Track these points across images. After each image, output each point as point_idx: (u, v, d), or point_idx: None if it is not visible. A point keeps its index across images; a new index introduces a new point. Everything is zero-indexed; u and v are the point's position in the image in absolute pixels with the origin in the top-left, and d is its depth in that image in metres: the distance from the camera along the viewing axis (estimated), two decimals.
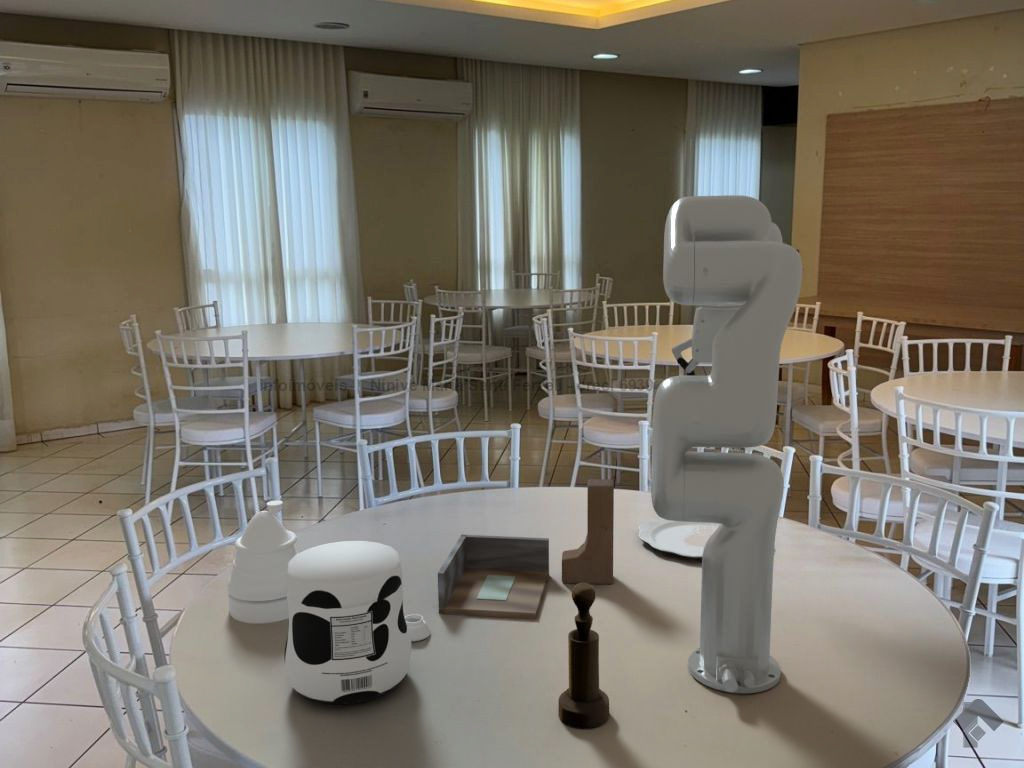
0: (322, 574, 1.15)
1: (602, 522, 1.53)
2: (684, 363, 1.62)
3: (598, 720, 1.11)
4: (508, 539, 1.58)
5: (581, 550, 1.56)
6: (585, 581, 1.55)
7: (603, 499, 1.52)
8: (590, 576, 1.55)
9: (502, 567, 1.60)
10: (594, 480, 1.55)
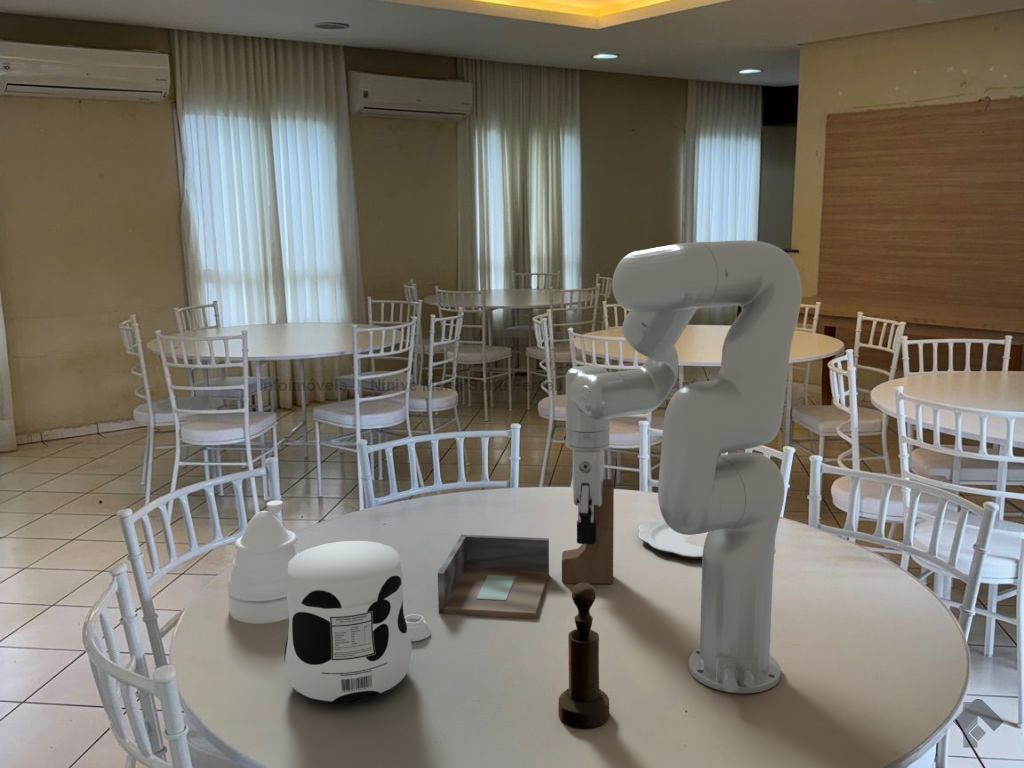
0: (322, 574, 1.15)
1: (602, 522, 1.53)
2: None
3: (598, 720, 1.11)
4: (508, 539, 1.58)
5: (581, 550, 1.56)
6: (585, 581, 1.55)
7: (603, 499, 1.52)
8: (590, 576, 1.55)
9: (502, 567, 1.60)
10: None
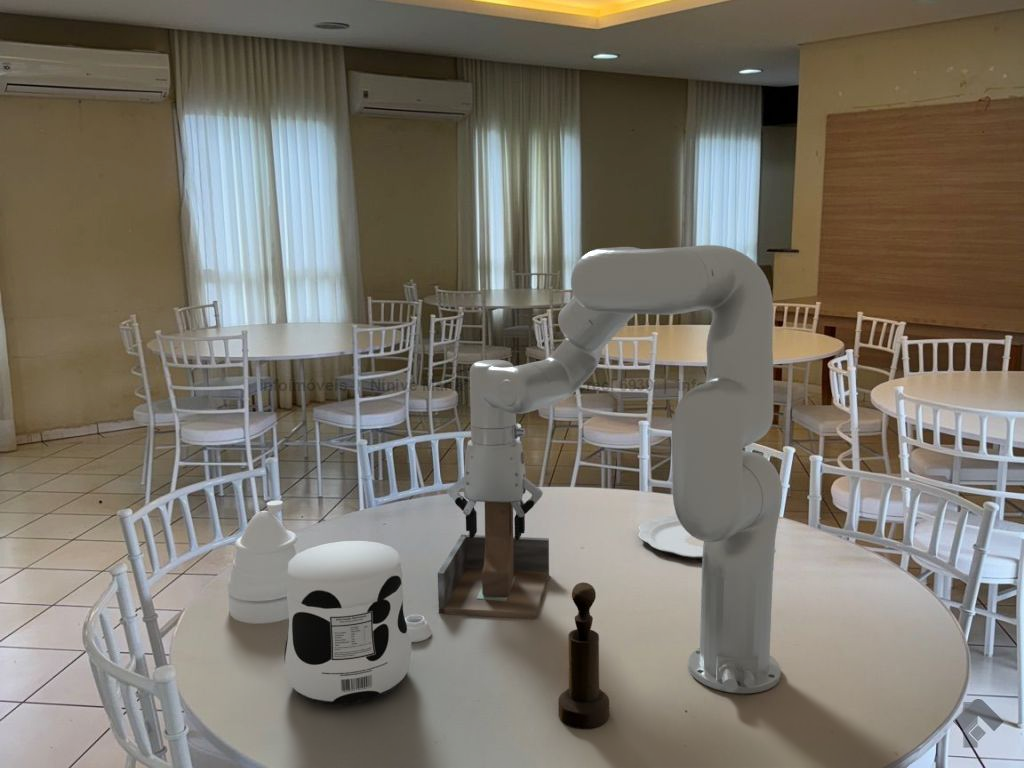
0: (322, 574, 1.15)
1: (512, 518, 1.52)
2: None
3: (598, 720, 1.11)
4: None
5: (502, 557, 1.50)
6: (511, 584, 1.51)
7: None
8: (511, 578, 1.52)
9: None
10: None
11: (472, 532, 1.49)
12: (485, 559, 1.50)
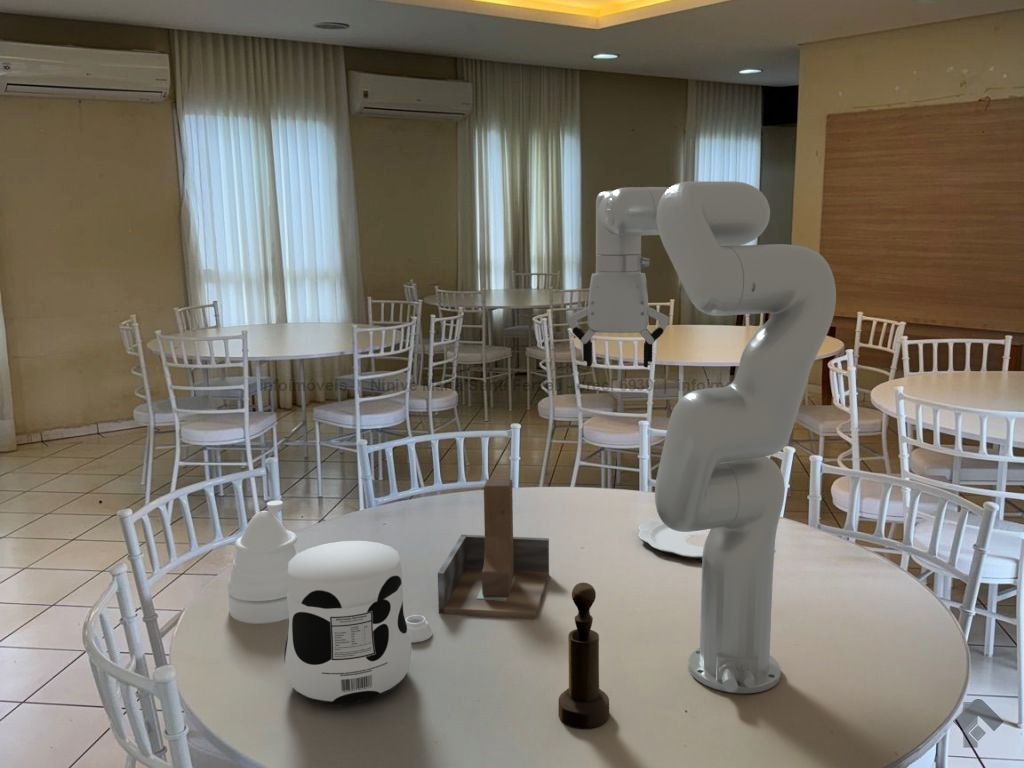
0: (322, 574, 1.15)
1: (511, 518, 1.52)
2: None
3: (598, 720, 1.11)
4: None
5: (501, 557, 1.50)
6: (511, 584, 1.51)
7: (511, 495, 1.51)
8: (511, 578, 1.52)
9: None
10: (490, 483, 1.50)
11: (590, 361, 1.51)
12: (485, 559, 1.50)
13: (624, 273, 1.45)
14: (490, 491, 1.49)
